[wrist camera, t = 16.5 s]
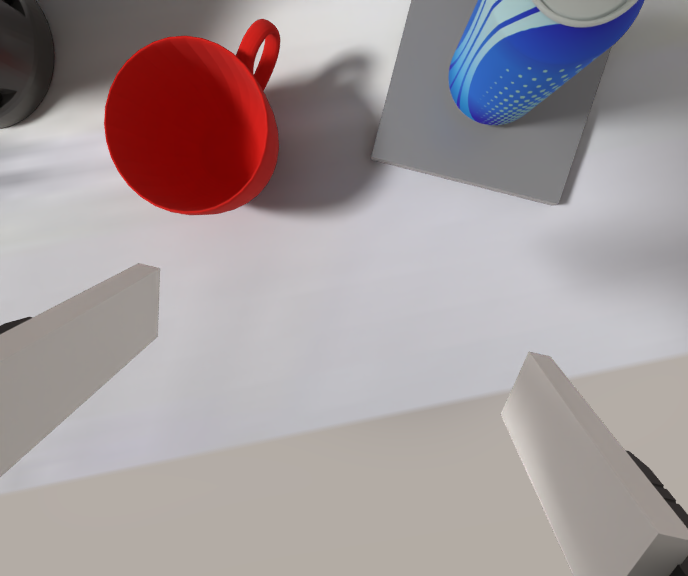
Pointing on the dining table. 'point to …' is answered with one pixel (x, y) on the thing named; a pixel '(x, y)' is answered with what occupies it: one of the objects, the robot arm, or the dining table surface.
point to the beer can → (529, 51)
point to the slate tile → (467, 135)
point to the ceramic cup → (195, 122)
